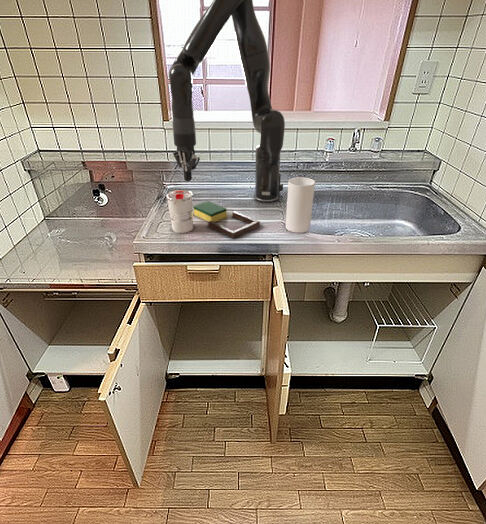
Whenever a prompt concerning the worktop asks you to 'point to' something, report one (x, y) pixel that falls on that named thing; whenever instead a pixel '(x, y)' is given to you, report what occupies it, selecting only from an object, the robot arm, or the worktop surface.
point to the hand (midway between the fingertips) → (188, 180)
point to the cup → (299, 204)
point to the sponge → (210, 211)
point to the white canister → (180, 210)
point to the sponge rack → (234, 234)
